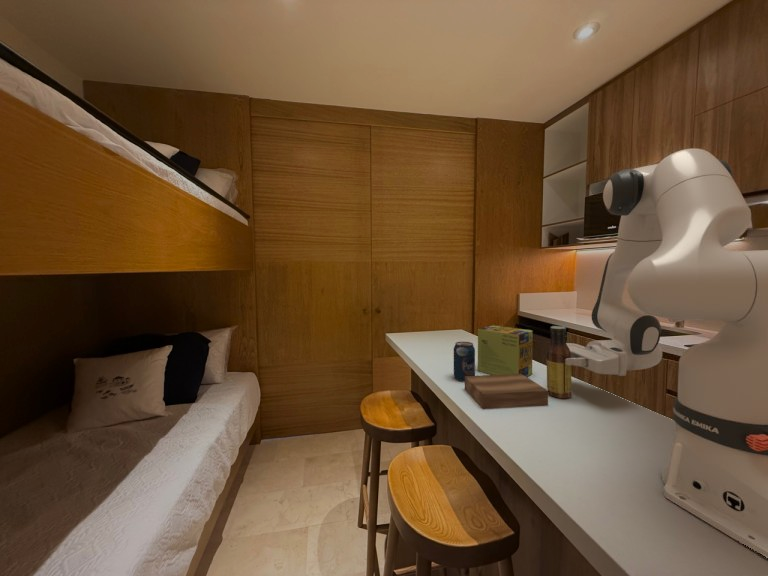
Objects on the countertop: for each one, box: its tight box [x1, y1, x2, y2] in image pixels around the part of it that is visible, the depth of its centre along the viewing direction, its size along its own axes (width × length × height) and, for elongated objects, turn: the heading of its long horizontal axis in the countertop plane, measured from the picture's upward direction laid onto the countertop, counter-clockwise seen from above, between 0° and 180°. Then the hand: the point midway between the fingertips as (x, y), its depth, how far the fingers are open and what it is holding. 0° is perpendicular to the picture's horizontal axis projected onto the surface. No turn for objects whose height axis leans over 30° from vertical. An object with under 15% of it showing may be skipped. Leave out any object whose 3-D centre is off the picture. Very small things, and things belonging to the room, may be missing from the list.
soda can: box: [453, 341, 476, 383], centre depth 107 cm, size 7×7×12 cm
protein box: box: [477, 325, 534, 378], centre depth 112 cm, size 10×15×16 cm
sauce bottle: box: [545, 325, 573, 399], centre depth 91 cm, size 6×6×20 cm
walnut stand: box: [464, 374, 549, 410], centre depth 92 cm, size 14×18×4 cm
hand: (556, 357), depth 91 cm, fingers closed on sauce bottle, 6 cm apart
